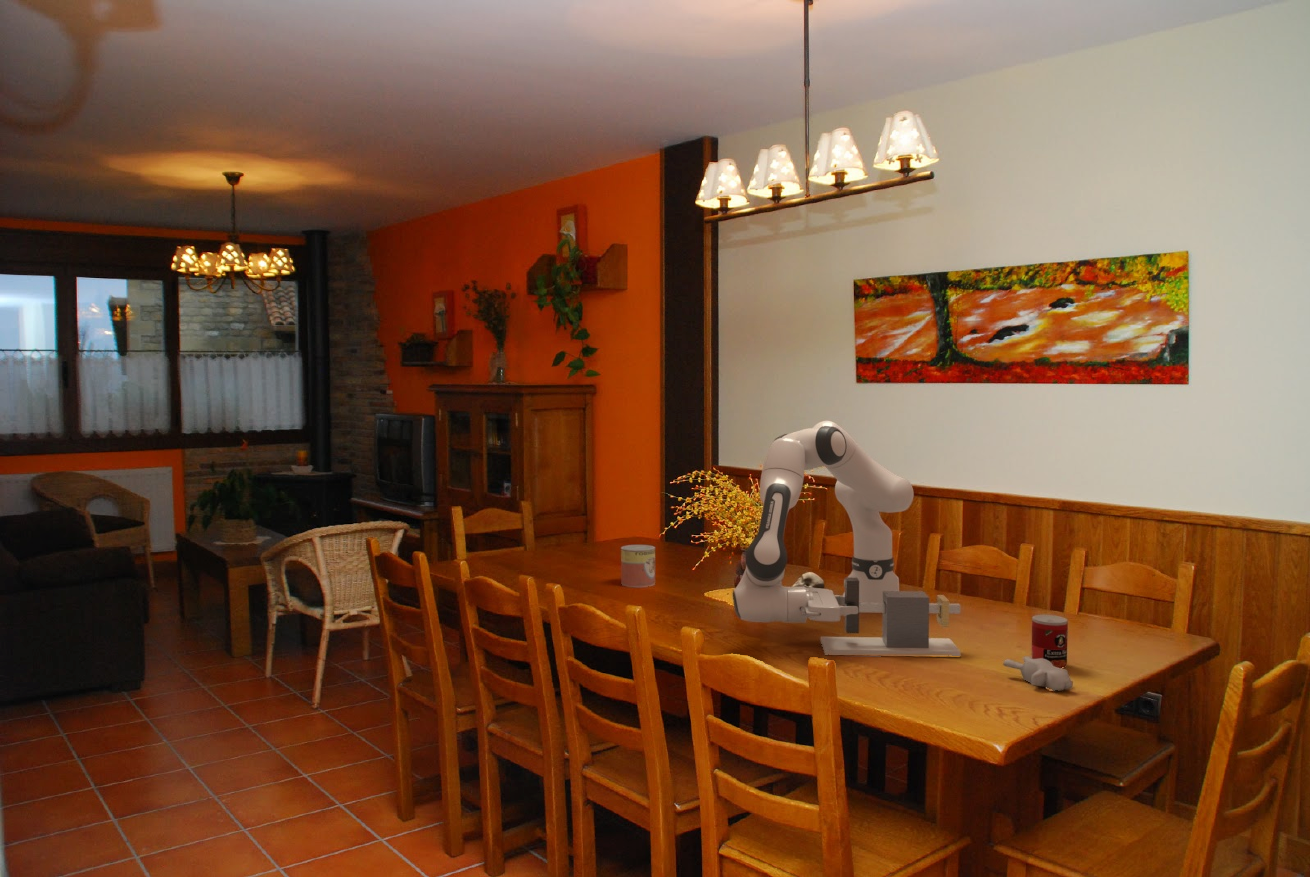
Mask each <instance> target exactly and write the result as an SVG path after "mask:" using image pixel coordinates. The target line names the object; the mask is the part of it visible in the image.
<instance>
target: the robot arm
mask: <svg viewBox="0 0 1310 877" xmlns="http://www.w3.org/2000/svg"><path fill="white" fill-rule="evenodd" d="M822 467H825V468H826V469H827V470H828V471H829V472H830V474H831V475H832V476H833V477H834V478H835V479H836V483H835V486H834V494H835V498H836V500H837V501H838V502H839V503H840V504H841V505H842V507H843V508H844V509H845V511H846V513H847V515H848V517H849V520H850V523H851V527H852V532H853V533H852V535H853V556H852V560H851V568H852V569H851V572H850V574H849V575H848V576H847V577H850V578H858V580H859V602H864V603H883V591H900V579H899V576H897V574H896V573H895V572H894V570H895V567H894V566H895V562H894V561H895V560H894V557H893V532H892V530H891V528H890V527H889V526H888V525H887V524H886V523H885V522H884V521H883V519H882V517H881V515H880V512H881V513H886V514H887V513H889V514H890V513H891V514H893V513H900V512H905V511H907V510H908V509H909V508H910V507H911V505H912V503H913V501H914V496H915V494H914V489H913V486H912V483H911V482H910V481H909V480H908V479H906V478H904V477H901V476H900V475H898V474H896V473H894V472H892V471H891V470H889V469H887V468H886V467H885V466H883V465H882V464H880V463H879V462H877V461H876V460H875V459H873V458H872V457H871V456H869V455H868V454H867V453H866V452H865V451H864V449H863V448H862V447H861V446H860V445H859V444H858V443H857V441H855V440H854V438H853V437H852V436H851V435H850V434H849V433H848V432H847V431H846V430H845V429H844V428H842V427H841V426H840V425H838V423H836V422H834V421H831V420H822V421H819V422H817V423H816V424H814V426H813V427H809V428H803V429H801V430H797V431H794V432H790V433H784V434H781V435H779V436H778V437H776V438H775V439H774V440H773V441H772V443H771V444H770V446H769V449H768V450H767V453H766V456H765V460H764V463H763V466H762V470H761V474H760V481H759V499H760V501H761V503H762V505H763V506H762V511H761V512H762V513H761V517H760V521H759V526H758V531H757V533H756V535H755V537H754V539H753V540H752V542H751V543H750V544H749V545H748V547H747V548H746V552H745V556H744V557H745V559H744V560H745V564H746V565H745V566H746V567H745V570H744V572H743V574H742V577H741V578H740V581H739V583H738V584H737V586H736V587H735V588H734V589H733V590H732V591H733V592H732V600H733V601H732V602H733V608H734V613H735V614H736V616H737V617H738V618H739V619H740V620H742V621H746V622H753V623H774V622H782V623H784V624H785V623H789V624H791V623H792V624H794V623H795V624H797V623H799V624H806V623H807V620H808V619H809V620H810V621H816V622H828V623H829V622H831V623H835V622H836V623H837V622H840V621H841V617H842V616H844V617H845V615H849V614H858V607H857V606H853V605H850V606H845V591H844V592H843V594H842V595H838V594H834V591H833V590H831V589H828V588H825V589H821V588H806V587H804V586H803V585H796V586H794V587H792V586H784V585H783V583H782V582H783V579H784V576H785V569H786V566H787V563H788V552H787V549H786V546H785V541H784V536H785V529H786V523H787V518H788V514H789V511H790V509H792V508H794V507H795V506H796V505H797V502H798V501H799V498H800V496H801V493H802V488H803V484H804V479H805V472H806V471H808V470H813V469H818V468H822ZM843 588H845V579H844V580H843Z"/></svg>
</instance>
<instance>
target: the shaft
mask: <svg viewBox="0 0 1310 877" xmlns="http://www.w3.org/2000/svg"><path fill="white" fill-rule="evenodd" d="M844 580H845V587H844V592H845V605H844V606H850V605H853V606H857V607H858V614H849V615H845V616H844V631H845V634H860V613H876V614H877V613H878V614H879V613H882V614H883V613H886V603H864V602H859V580H858V578H850V577H848V576H847V577H844ZM961 608H962V607H961V604H960V603H950V602H949V614H953V615H954V614H956V615H957V614H961V610H962V609H961ZM937 613H941V605H940V604H939V603H937V602H935V603H933V602H929V614H937Z"/></svg>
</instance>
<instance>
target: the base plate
mask: <svg viewBox="0 0 1310 877" xmlns="http://www.w3.org/2000/svg"><path fill="white" fill-rule="evenodd" d="M821 644H822V645H821ZM820 645H821V647H823V648H822V650H824V651H823V653H825V654H824V656H825V655H828V654H829V655H831V654H832V655H948V656H949V655H952V656H961V654H962V652H961V649H959V647H957V645H956V644H955V643H954V642H953V640H952V639H951V638H948V637H947V638H944V637H942V638H940V637H938V638H937V637H935V638H934V637H929V648H887V647H886V646H885V644H884V642H883V640H882V637H879V636H878V637H877V636H876V637H874V636H873V637H872V636H870V637H869V636H867V637H865V636H820ZM961 657H962V656H961Z"/></svg>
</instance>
